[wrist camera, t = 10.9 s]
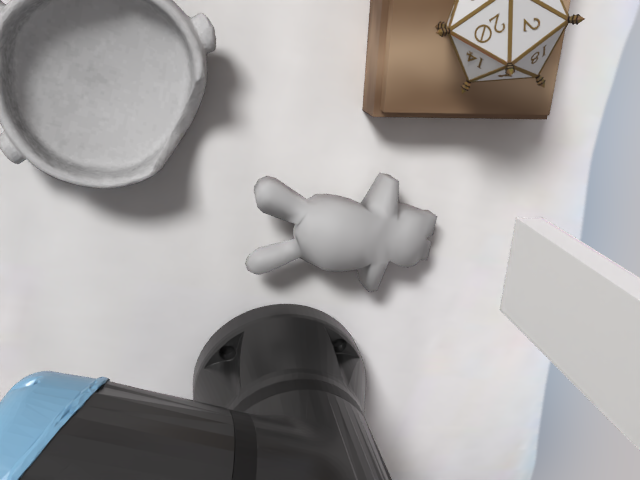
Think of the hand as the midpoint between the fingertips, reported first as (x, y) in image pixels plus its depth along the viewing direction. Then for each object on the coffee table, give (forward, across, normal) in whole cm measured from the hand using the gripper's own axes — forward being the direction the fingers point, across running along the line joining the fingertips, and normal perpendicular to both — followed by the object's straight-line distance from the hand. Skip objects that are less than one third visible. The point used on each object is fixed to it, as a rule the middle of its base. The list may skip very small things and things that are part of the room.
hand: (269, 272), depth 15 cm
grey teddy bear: (+32, -10, +10) cm, 35 cm away
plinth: (+32, -18, -6) cm, 37 cm away
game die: (+28, -18, -6) cm, 33 cm away
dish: (+32, +8, -1) cm, 33 cm away
